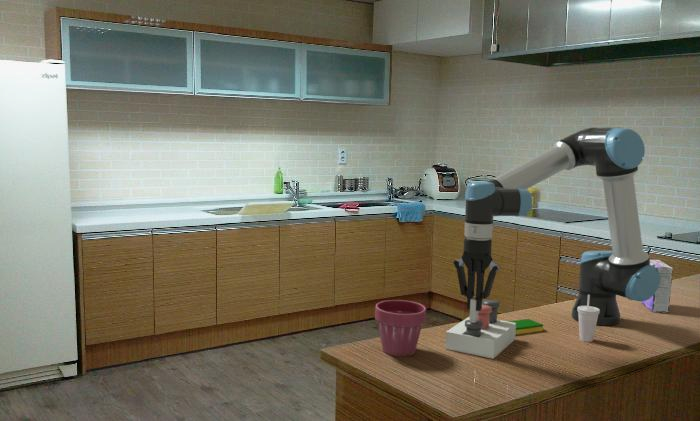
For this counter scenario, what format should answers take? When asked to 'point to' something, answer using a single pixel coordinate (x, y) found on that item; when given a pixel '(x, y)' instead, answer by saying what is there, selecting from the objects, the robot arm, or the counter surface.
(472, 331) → the knob
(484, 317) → the pink round knob
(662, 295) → the candy box
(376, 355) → the counter surface
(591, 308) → the smoothie
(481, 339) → the mount
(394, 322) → the plant pot
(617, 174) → the robot arm
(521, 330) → the dish sponge
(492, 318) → the knob
